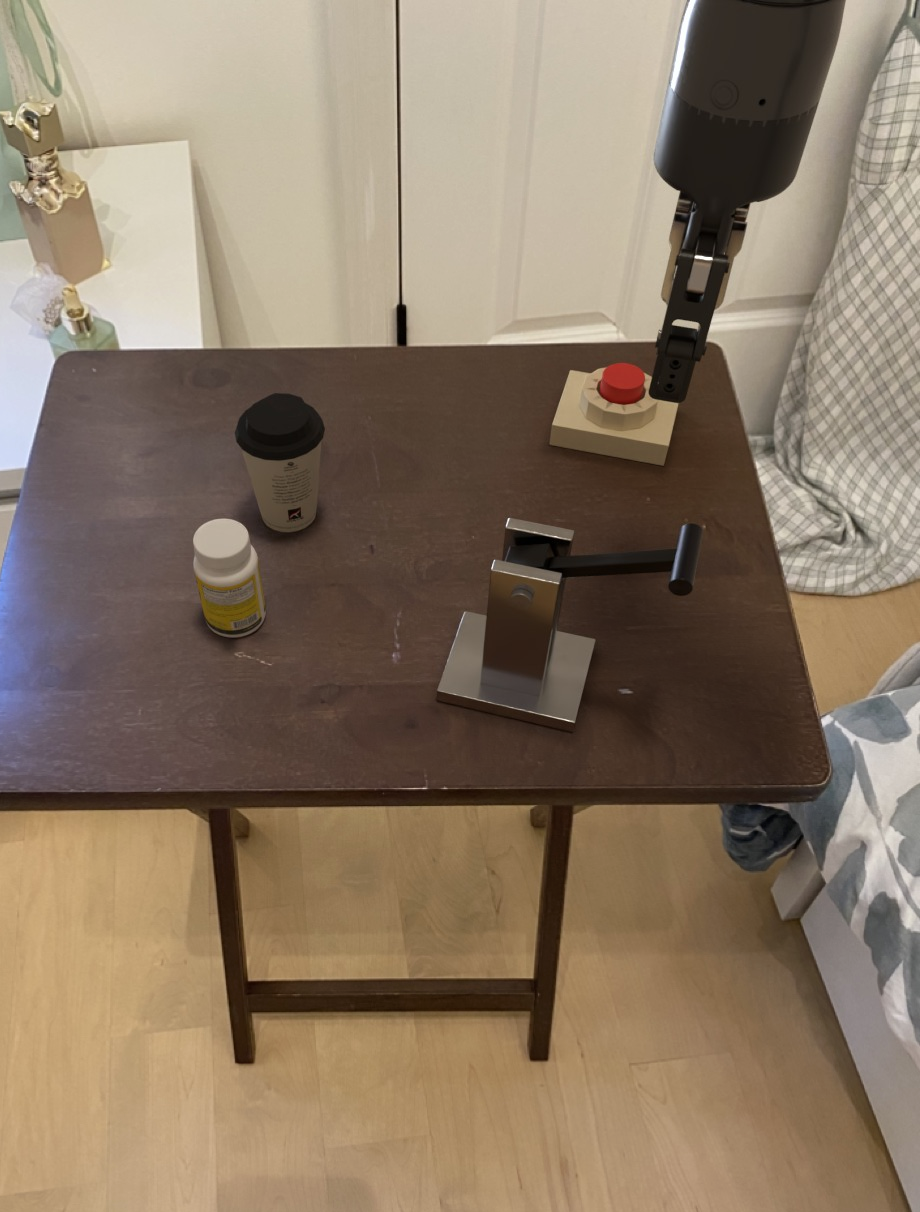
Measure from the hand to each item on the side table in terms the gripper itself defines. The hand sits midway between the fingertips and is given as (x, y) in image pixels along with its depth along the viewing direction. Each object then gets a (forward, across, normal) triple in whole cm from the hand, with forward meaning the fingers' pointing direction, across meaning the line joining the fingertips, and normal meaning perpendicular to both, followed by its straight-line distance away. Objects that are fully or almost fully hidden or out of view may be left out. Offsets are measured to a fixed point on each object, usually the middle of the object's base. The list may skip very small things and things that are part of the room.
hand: (674, 355), depth 67 cm
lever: (+10, -10, +1) cm, 14 cm away
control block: (+22, +20, +3) cm, 29 cm away
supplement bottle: (+22, -10, +28) cm, 37 cm away
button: (+18, +20, +3) cm, 27 cm away
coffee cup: (+22, +2, +27) cm, 35 cm away
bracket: (+21, -10, +6) cm, 24 cm away
